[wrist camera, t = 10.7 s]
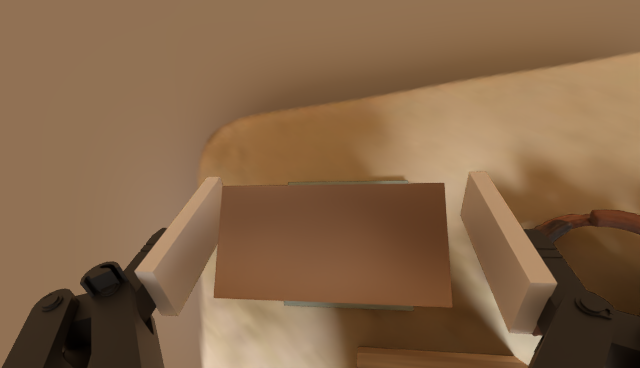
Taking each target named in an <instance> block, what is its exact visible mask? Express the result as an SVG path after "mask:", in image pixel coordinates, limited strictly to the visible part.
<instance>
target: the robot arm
mask: <svg viewBox="0 0 640 368" xmlns="http://www.w3.org/2000/svg"><path fill="white" fill-rule="evenodd" d="M222 186H223V184H222V181H221V178H220V177H207V178H206V179H205V180H204V182H203V183H202V184H201V186H200V187H199V188H198V190H197V191H196V192H195V193H194V195H193V196H192V197H191V199H190V200H189V201H188V203H187V204H186V205H185V207H184V208H183V209H182V210H181V212H180V213H179V214H178V215H177V217H176V218H175V219H174V221H173V222H172V223H171V224H170V226H169V227H168V228H162V229H160V230H159V231H158V232H156V233H155V234H154V235H152V237H151V238H150V239H149V240H148V242H147V243H146V245H144V247H143V248H142V249H141V251H140V252H139V253H138V254H137V255H136V256H135V258H134V259H133V260H132V261H131V263H130V264H129V265H128V266H127V268H126V269H125V270H124V271H122V269H121V267H120V266H119V264H118V263H116V262H105V263H102V264H99V265H97V266H95V267H93V268H92V269H91V270H89V271H88V272H87V273H86V274H85V275H84V276H83V277H82V279H81V282H80V284H81V285H82V287H83V288H84V289H85V290H86V292H87V293H86V294H82V295H78V296H75V295H74V294H73V293H72V292H71V291H70V290H69V289H60V290H56V291H54V292H52V293H49V294H48V295H46V296H45V297H43V298H42V299H41V300H40V301H38V302H37V303H36V304H35V306H34V307H33V308H32V310H31V312H30V314H29V316H28V318H27V320H26V322H25V324H24V326H23V328H22V329H21V331H20V334H19V335H18V338H17V339H16V341H15V343H14V345H13V347H12V349H11V351H10V353H9V355H8V357H7V359H6V361H5V363H4V364H3V366H2V368H164V364H163V359H162V354H161V349H160V345H159V340H158V335H157V330H156V325H155V321H154V318H153V316H152V315H151V314H152V313H153V311H154V310H155V308H156V307H157V309H158V310H159V312H160V314H161V315H166V316H179V314H180V312H181V310H182V308H183V306H184V304H185V302H186V301H187V299H188V297H189V295H190V293H191V292H192V290H193V288H194V286H195V284H196V282H197V281H198V279H199V277H200V275H201V273H202V271H203V269H204V268H205V266H206V264H207V262H208V260H209V258H210V256H211V255H212V253H213V251H214V249H215V247H216V245H217V244H218V235H219V222H220V209H221V196H222ZM460 216H461V218H462V221H463V223H464V225H465V228H466V230H467V233H468V235H469V238H470V240H471V242H472V245H473V247H474V250H475V252H476V254H477V257H478V259H479V262H480V264H481V266H482V269H483V271H484V274H485V276H486V278H487V281H488V283H489V286H490V288H491V290H492V293H493V295H494V298H495V300H496V303H497V305H498V307H499V310H500V312H501V315H502V317H503V319H504V322H505V324H506V327H507V329H508V331H509V333H522V334H532V333H533V331H534V329H535V327H536V325H538V327H539V329H540V331H541V333H542V335H543V336H542V338H541V340H540V341H539V343H538V345H537V347H536V349H535V351H534V352H535V353H534V355H533V357H532V359H531V361H530V364H529V366H528V368H640V317H639V316H635V315H632V314H628V313H624V312H621V311H618V310H615V309H614V308H613V306H612V305H611V304H609V303H608V302H607V301H606V300H605V299H603V298H602V297H600V296H598V295H596V294H595V293H592V292H589V291H587V290H586V289H585V287H584V286H583V285H582V283H581V282H580V280H579V279H578V278H577V276H576V275H575V274H574V272H573V271H572V269H571V268H570V267H569V265H568V264H567V262H566V261H565V260H564V259H563V257H562V255H561V254H560V253H559V251H557V248H556V247H555V246H554V244H553V243H552V242H551V240H550V239H549V238H548V237H547V236H545V235H544V234H543V233H541V232H540V231H539V230H537V229H522V227H521V226H520V224H519V222H518V221H517V219H516V218H515V216H514V215H513V213H512V212H511V210H510V208H509V207H508V205H507V204H506V202H505V201H504V199H503V197H502V196H501V194H500V193H499V191H498V190H497V188H496V187H495V185H494V183H493V182H492V180H491V179H490V177H489V176H488V174H487V172H469V175H468V180H467V185H466V190H465V195H464V200H463V205H462V210H461V215H460Z"/></svg>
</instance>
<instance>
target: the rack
mask: <svg viewBox="0 0 640 368" xmlns="http://www.w3.org/2000/svg"><path fill="white" fill-rule="evenodd" d="M357 368H528V366H527V365H526V364H525V363H523V362H522V361H521V360H519V359H518V358H517V357H515V356H503V355H486V354H469V353H453V352H436V351H420V350H403V349H387V348H370V347H358V355H357Z"/></svg>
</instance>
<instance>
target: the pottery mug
mask: <svg viewBox="0 0 640 368" xmlns="http://www.w3.org/2000/svg"><path fill="white" fill-rule="evenodd" d="M590 225H592V226H597V227H612V228H619V229H623V230H628V231H631V232H634V233H637V234H640V215H637V214H635V213H629V212H625V211H620V210H592V211H591V213H590V214H585V215H575V214H570V215H565V216H561V217H557V218H554V219H551V220H549V221H547V222H545V223H544V224H543V225H539V226H537V227H535V228H534V229H537V230H539V231H540V232H541V233H543V234H544V235H545V236H547V237H548V238H549V239H550V240H551V242H552V243H553V242H554V241H555V240H556V239H558V238H559V237H560V236H562V235H564V234H565V233H567V232H568V231H570V230H571V229H573V228H577V227H582V226H590ZM532 335H533V336H538V335H542V333H541V331H540V329H539V327H538V325H536V327H535V329H534V331H533V333H532Z"/></svg>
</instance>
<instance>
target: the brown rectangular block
mask: <svg viewBox="0 0 640 368" xmlns="http://www.w3.org/2000/svg"><path fill="white" fill-rule="evenodd" d="M214 298H230V299H254V300H279V301H304V302H329V303H353V304H378V305H403V306H428V307H452V308H453V306H452V291H451V276H450V261H449V246H448V232H447V217H446V202H445V187H444V183H408V184H341V185H274V186H222V196H221V209H220V222H219V235H218V248H217V261H216V274H215V286H214Z"/></svg>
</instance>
